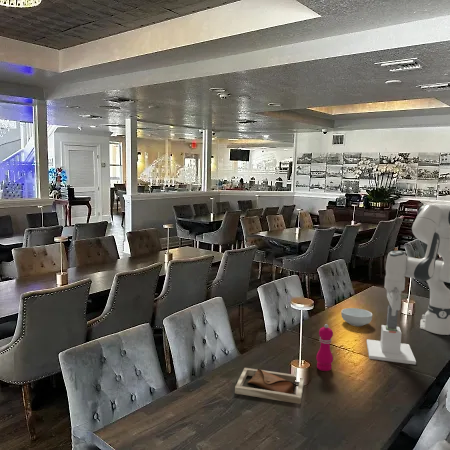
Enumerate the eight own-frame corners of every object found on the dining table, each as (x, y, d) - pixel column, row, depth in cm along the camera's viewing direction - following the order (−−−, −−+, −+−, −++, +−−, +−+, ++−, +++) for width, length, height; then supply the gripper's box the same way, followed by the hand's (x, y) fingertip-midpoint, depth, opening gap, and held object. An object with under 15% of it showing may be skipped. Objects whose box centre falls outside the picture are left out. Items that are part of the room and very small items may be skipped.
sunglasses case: (245, 382, 166) (251, 365, 168) (254, 384, 171) (259, 368, 173) (284, 398, 155) (289, 380, 157) (292, 400, 160) (297, 383, 162)
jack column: (385, 336, 201) (387, 304, 199) (394, 337, 200) (397, 305, 198) (386, 340, 197) (388, 307, 195) (396, 341, 195) (398, 308, 194)
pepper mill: (332, 372, 178) (335, 327, 175) (315, 370, 179) (318, 326, 177) (332, 365, 185) (334, 322, 182) (315, 363, 186) (317, 320, 184)
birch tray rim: (244, 373, 175) (244, 367, 175) (304, 382, 169) (304, 376, 169) (234, 393, 159) (235, 387, 159) (300, 403, 153) (300, 397, 152)
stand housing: (366, 342, 211) (367, 318, 210) (408, 347, 206) (410, 323, 204) (369, 358, 192) (370, 333, 190) (415, 364, 187) (417, 338, 185)
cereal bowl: (374, 322, 240) (375, 311, 239) (367, 331, 226) (368, 319, 225) (345, 316, 249) (346, 305, 248) (337, 325, 235) (337, 313, 234)
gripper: (405, 291, 184) (402, 321, 186) (398, 280, 204) (396, 307, 205) (390, 290, 186) (388, 320, 187) (385, 279, 205) (383, 306, 207)
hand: (392, 313), depth 197 cm, fingers closed on jack column, 4 cm apart
